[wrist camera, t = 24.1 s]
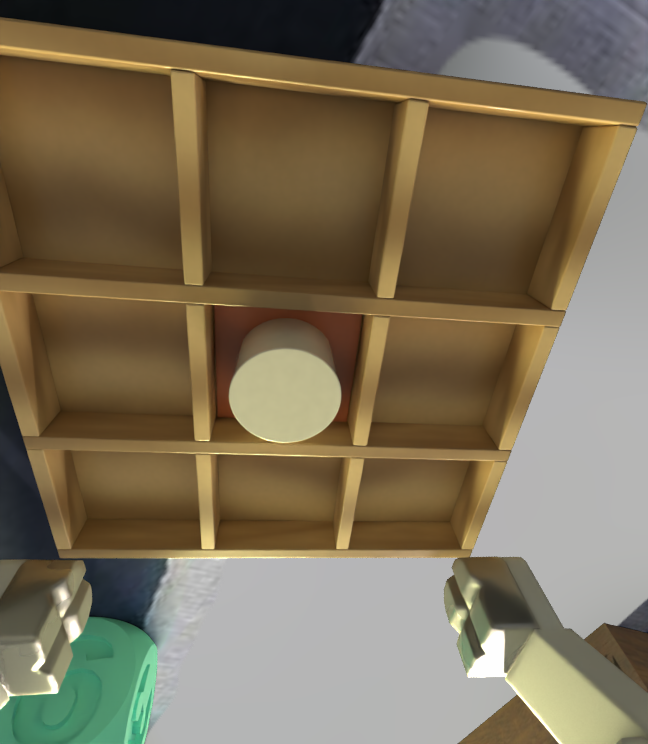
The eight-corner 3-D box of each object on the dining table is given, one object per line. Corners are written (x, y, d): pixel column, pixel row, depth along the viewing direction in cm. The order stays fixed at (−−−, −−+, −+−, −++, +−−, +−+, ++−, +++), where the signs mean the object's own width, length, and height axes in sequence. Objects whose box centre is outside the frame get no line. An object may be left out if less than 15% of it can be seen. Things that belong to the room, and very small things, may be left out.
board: (-45, 25, 13) (-114, 1, 11) (596, 107, 16) (649, 101, 13) (81, 518, 24) (59, 558, 21) (454, 521, 26) (469, 558, 24)
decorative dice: (48, 678, 31) (-21, 834, 24) (27, 614, 27) (-63, 776, 20) (160, 677, 32) (125, 826, 25) (155, 615, 28) (111, 770, 21)
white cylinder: (236, 314, 18) (227, 344, 15) (339, 320, 18) (348, 351, 16) (236, 401, 20) (229, 441, 17) (329, 405, 20) (335, 444, 18)
